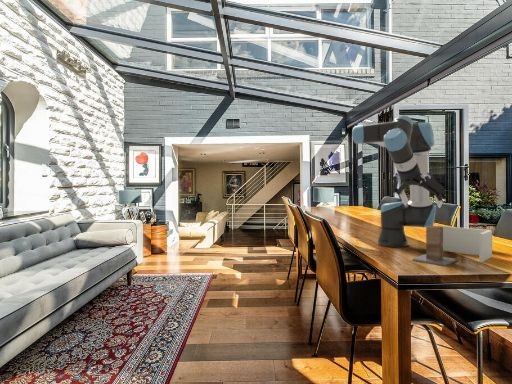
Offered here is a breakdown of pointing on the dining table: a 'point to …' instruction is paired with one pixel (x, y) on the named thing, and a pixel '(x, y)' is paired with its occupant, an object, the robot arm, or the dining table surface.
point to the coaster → (441, 262)
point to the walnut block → (434, 242)
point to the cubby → (468, 241)
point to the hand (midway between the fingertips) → (422, 204)
